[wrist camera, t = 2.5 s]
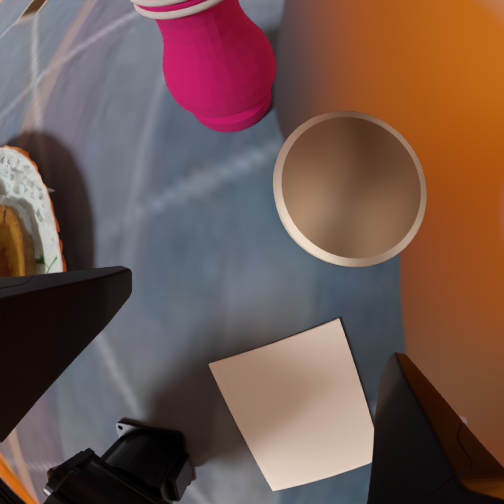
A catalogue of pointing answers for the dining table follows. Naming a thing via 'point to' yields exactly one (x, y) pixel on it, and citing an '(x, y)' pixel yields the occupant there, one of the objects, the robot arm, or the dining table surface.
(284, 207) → the round bowl
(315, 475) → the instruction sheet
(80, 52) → the dining table surface
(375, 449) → the robot arm
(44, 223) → the food on plate
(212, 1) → the pepper mill
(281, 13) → the dining table surface
